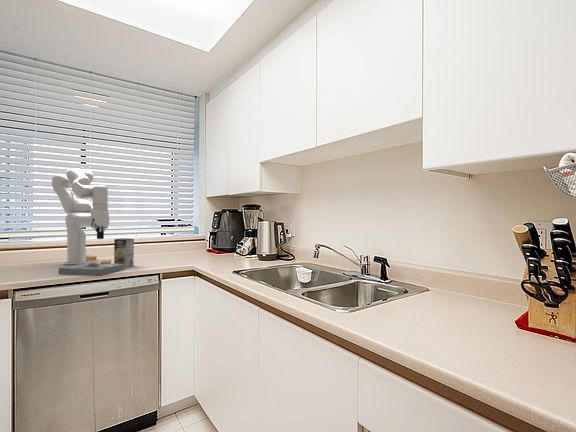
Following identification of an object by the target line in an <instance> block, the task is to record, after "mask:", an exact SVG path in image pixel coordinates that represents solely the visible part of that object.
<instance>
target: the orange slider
mask: <svg viewBox="0 0 576 432" xmlns="http://www.w3.org/2000/svg"><path fill="white" fill-rule="evenodd" d="M87 256H88V255H87ZM92 260H97V256H96V255H91V256H88V257H86V262H87V261H92Z"/></svg>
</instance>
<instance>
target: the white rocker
mask: <svg viewBox="0 0 576 432" xmlns="http://www.w3.org/2000/svg"><path fill="white" fill-rule="evenodd" d="M91 263H101V260H100V259H97V258H96V260H92V261H87V262H85V264H91Z"/></svg>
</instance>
